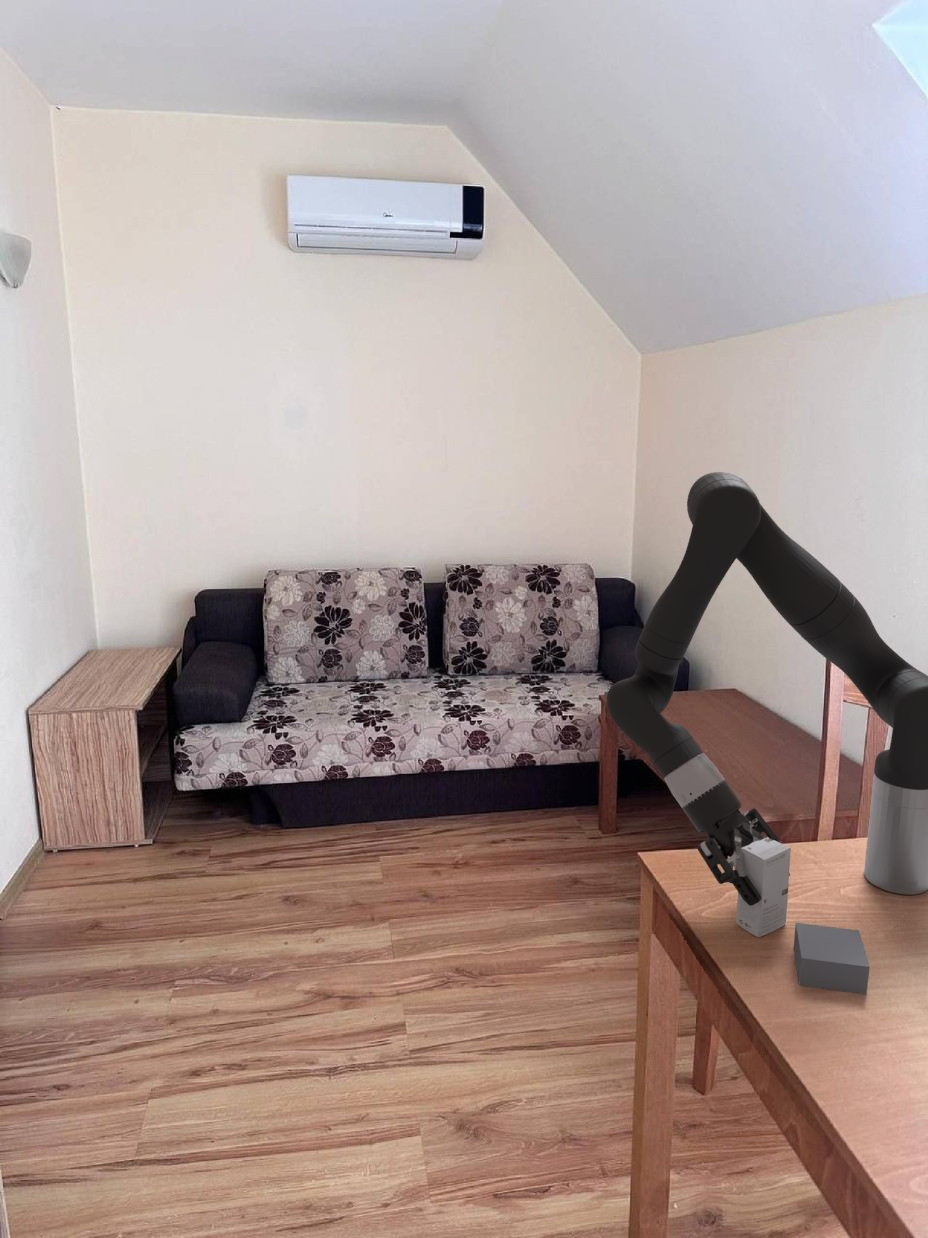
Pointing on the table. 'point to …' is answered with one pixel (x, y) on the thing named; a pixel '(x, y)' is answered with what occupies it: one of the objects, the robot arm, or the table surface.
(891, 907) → the table surface
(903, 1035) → the table surface
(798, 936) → the charcoal plinth
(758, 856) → the skincare box
